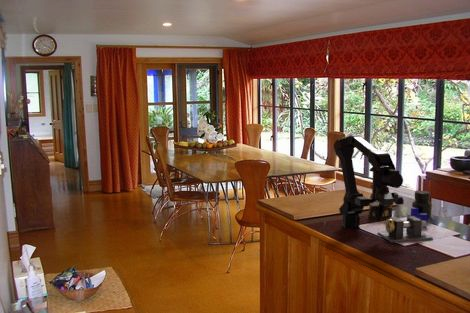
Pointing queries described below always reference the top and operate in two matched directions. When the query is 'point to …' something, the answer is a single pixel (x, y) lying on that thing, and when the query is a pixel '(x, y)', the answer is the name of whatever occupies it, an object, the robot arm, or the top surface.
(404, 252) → the top surface
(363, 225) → the top surface
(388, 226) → the shaft
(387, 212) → the ammunition clip
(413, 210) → the cable clip
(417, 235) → the housing
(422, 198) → the ink bottle
